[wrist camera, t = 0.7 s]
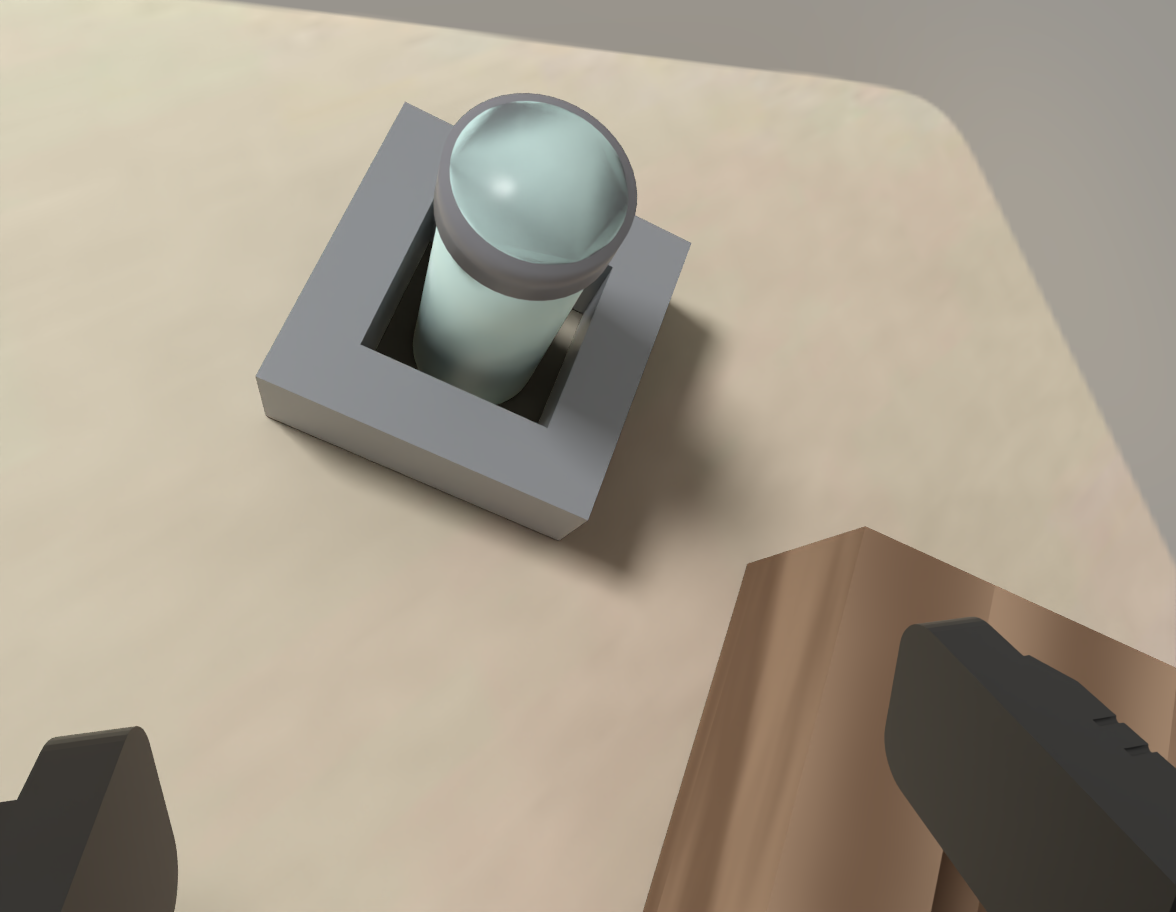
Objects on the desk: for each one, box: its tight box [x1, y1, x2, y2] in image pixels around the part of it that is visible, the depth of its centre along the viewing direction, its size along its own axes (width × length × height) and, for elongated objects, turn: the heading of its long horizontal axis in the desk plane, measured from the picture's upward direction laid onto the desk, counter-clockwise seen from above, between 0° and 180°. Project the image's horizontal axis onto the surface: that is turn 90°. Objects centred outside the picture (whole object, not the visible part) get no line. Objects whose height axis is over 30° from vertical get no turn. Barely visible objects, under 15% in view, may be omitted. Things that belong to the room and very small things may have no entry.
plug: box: [413, 93, 637, 405], centre depth 24 cm, size 4×4×10 cm
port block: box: [643, 526, 1176, 912], centre depth 25 cm, size 14×14×7 cm
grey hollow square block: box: [256, 102, 691, 541], centre depth 27 cm, size 10×10×4 cm
